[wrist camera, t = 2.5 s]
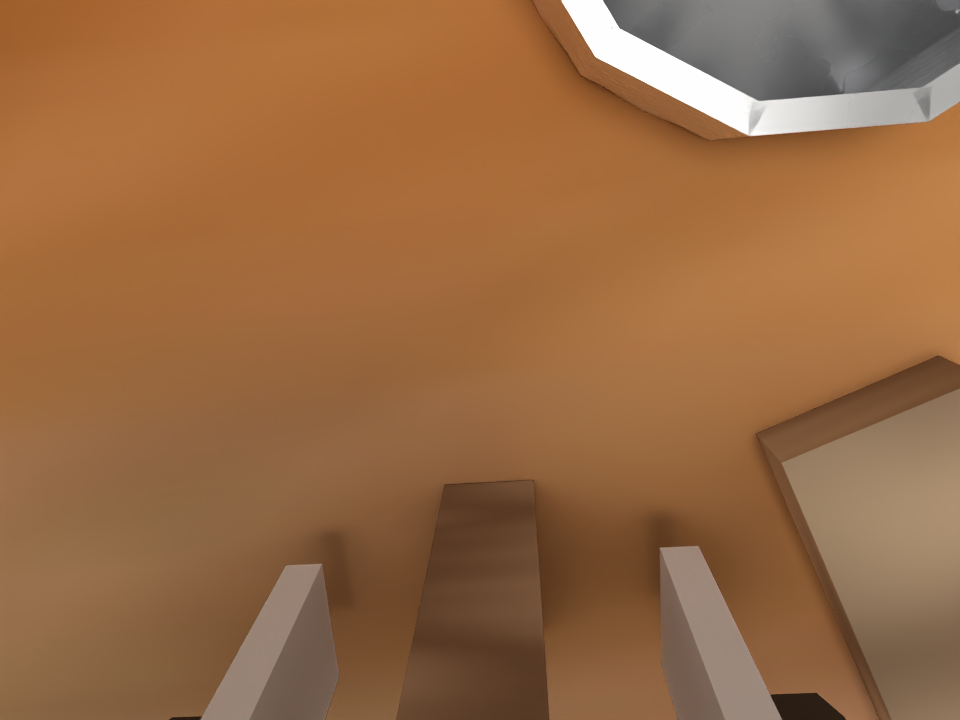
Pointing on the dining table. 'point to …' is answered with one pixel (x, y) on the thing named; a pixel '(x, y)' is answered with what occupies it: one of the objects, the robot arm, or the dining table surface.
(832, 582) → the tan rectangular slab
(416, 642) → the brown elongated block
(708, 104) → the tin
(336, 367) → the dining table surface
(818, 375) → the dining table surface
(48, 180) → the dining table surface
